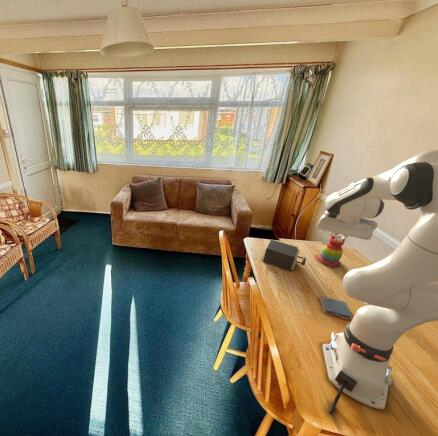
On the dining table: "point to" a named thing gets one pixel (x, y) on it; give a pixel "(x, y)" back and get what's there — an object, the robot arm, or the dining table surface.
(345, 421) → the dining table surface
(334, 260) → the stacking bear
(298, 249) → the drawer
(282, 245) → the cabinet
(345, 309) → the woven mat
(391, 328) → the robot arm
